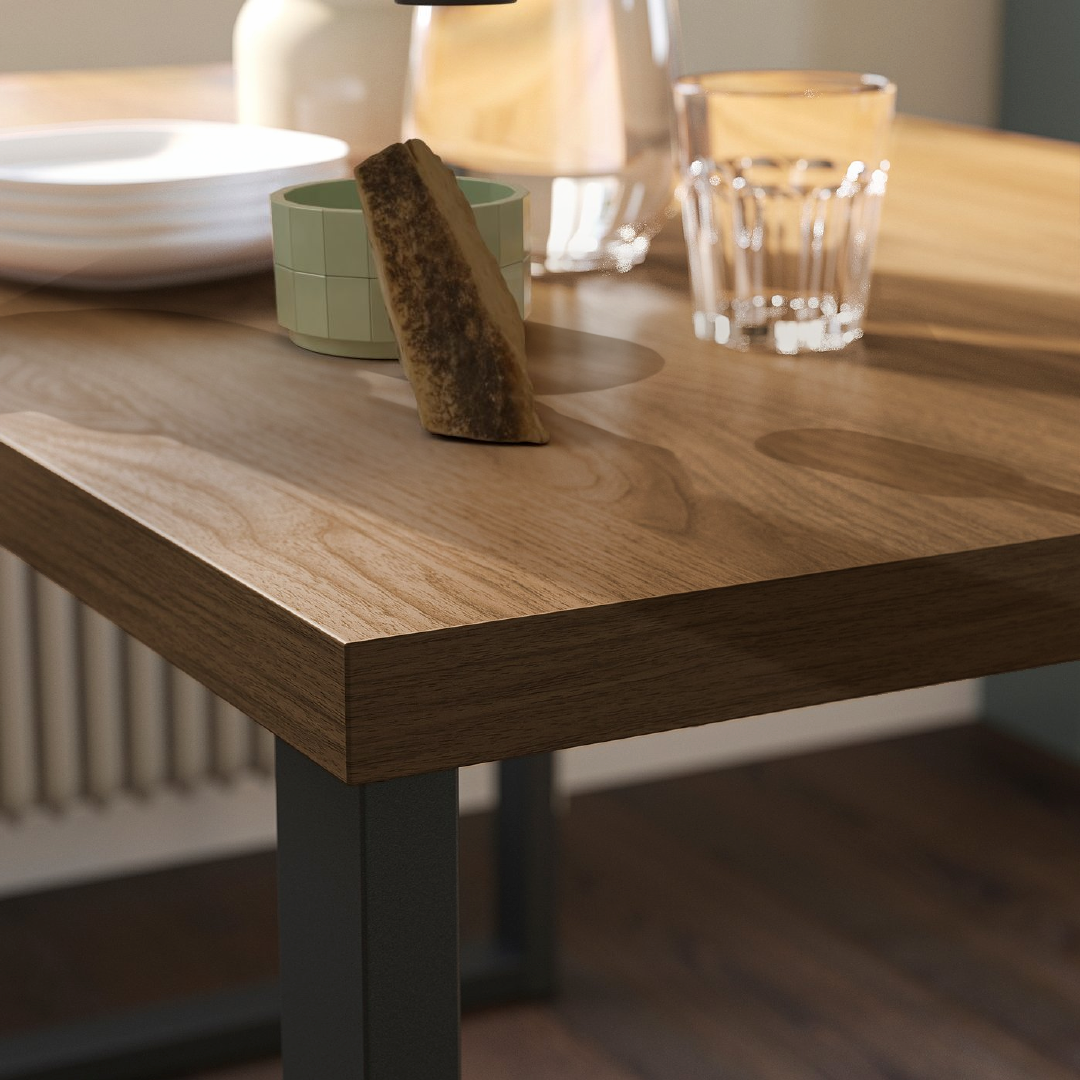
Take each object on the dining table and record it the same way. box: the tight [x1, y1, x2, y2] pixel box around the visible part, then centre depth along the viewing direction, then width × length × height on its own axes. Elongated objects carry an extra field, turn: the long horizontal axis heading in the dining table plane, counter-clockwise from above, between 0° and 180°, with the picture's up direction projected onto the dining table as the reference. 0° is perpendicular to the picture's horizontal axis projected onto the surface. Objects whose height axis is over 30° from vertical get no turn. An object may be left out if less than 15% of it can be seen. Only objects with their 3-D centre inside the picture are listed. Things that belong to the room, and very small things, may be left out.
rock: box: [353, 137, 551, 445], centre depth 63 cm, size 11×9×10 cm
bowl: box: [268, 175, 532, 360], centre depth 74 cm, size 11×11×6 cm
